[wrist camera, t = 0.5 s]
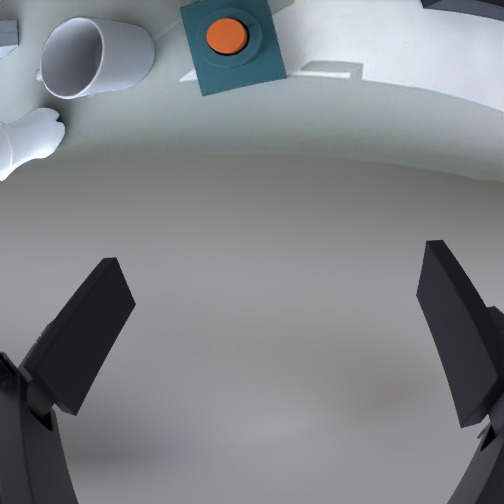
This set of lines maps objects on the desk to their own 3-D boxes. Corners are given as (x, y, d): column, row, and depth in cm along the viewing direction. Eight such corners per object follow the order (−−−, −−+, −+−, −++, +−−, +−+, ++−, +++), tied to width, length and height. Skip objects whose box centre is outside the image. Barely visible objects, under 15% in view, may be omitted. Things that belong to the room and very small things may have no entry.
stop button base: (186, 11, 26) (173, 4, 23) (264, -10, 24) (261, -20, 21) (207, 95, 32) (197, 97, 28) (286, 78, 30) (286, 77, 26)
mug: (153, 17, 27) (103, 2, 18) (158, 81, 31) (109, 88, 22) (74, 43, 28) (15, 45, 19) (79, 100, 33) (23, 116, 24)
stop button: (207, 26, 25) (202, 24, 23) (242, 17, 24) (239, 14, 22) (215, 57, 26) (211, 56, 25) (250, 49, 26) (248, 47, 24)
